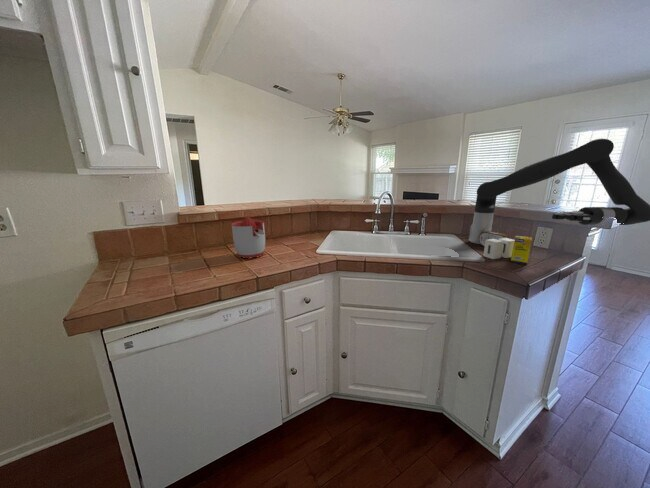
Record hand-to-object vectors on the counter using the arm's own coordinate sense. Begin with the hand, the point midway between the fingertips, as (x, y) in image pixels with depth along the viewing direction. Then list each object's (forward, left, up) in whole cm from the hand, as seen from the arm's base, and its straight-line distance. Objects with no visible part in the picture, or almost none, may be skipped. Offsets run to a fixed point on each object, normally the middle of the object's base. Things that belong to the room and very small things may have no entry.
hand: (553, 216), depth 108 cm
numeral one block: (-13, -15, -20) cm, 28 cm away
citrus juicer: (-58, -121, -20) cm, 136 cm away
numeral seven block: (-12, -8, -20) cm, 25 cm away
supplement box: (-4, -10, -20) cm, 23 cm away
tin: (-23, -2, -20) cm, 31 cm away
